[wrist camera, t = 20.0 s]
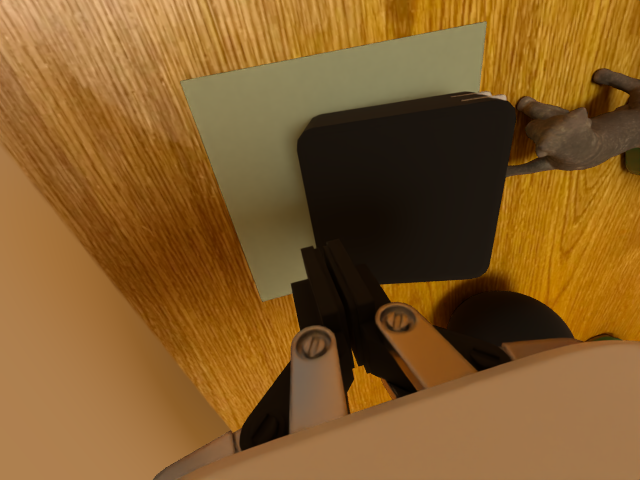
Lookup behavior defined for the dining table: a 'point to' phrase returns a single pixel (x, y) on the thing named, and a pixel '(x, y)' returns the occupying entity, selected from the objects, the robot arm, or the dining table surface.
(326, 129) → the electronic device
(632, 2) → the dining table surface
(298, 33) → the dining table surface
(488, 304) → the decorative ball
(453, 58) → the mat
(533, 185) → the dining table surface
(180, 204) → the dining table surface
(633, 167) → the green rectangular bottle
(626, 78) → the dog figurine
